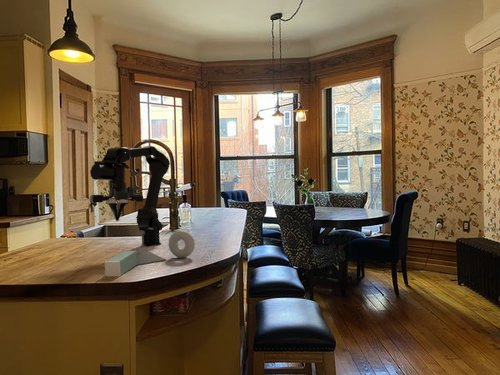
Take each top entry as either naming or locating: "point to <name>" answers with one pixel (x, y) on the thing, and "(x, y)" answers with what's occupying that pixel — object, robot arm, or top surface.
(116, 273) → the block
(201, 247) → the top surface
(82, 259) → the top surface
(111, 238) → the top surface
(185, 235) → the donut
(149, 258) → the mat
